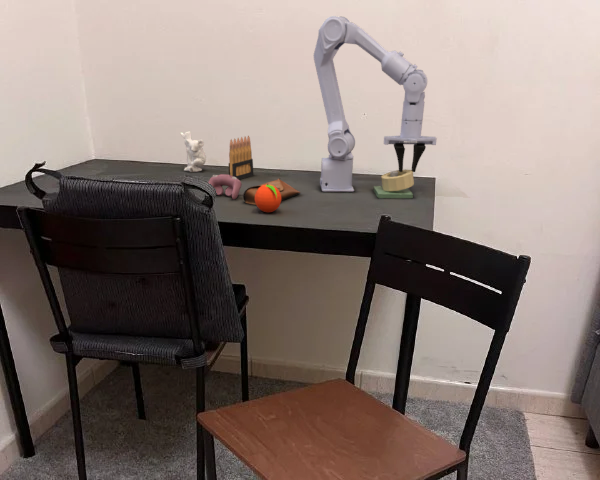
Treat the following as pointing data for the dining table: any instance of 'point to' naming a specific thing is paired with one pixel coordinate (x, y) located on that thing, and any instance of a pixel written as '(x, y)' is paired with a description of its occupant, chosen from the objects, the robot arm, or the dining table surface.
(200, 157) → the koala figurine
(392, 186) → the masking tape roll
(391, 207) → the dining table surface
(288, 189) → the sunglasses case
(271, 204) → the clementine
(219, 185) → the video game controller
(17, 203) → the dining table surface
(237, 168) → the ammunition clip
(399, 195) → the peg stand
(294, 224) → the dining table surface
